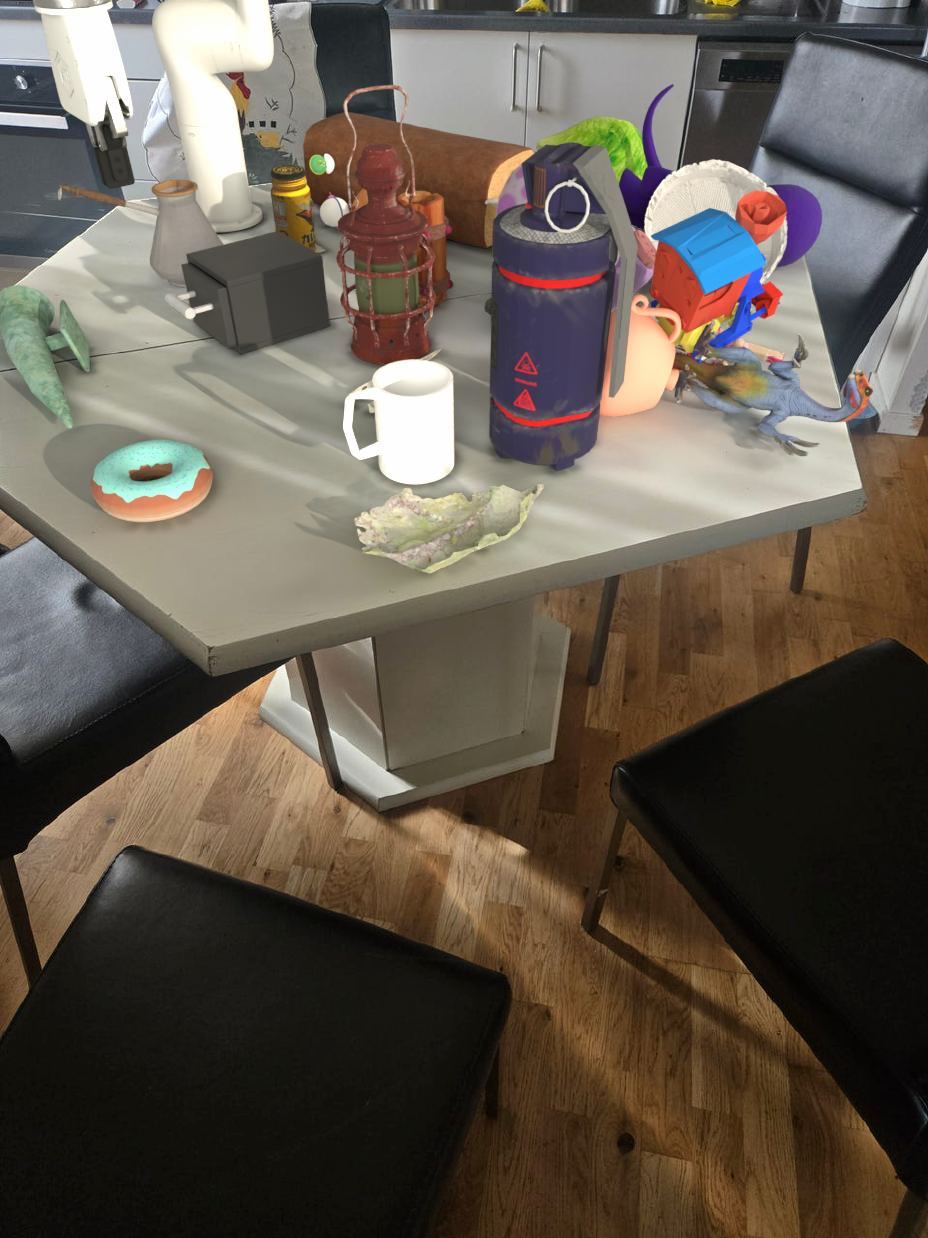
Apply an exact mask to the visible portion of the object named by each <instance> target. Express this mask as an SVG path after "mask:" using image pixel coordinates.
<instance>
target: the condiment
mask: <svg viewBox="0 0 928 1238" xmlns="http://www.w3.org/2000/svg"><path fill="white" fill-rule="evenodd" d="M305 173H306V172H305V167H304V166H301V165H298V164H282V165H277V166H274V167H272V168H271V170H270V178H271V181H270V183H271V185H272V187H271V189H270V192H269V193H270V199H271V206H272V213H273V221H274V228H275V232H276V231H279V232H281V233H282V234H284V235H286V236H288V237H290V238H291V239H293V240H295V241H297V242H298V243H300V244H302V245H304V246H306V247H307V248H309V249H311V250H313V251H315V252H316V253H318V254H320V253H321V254H322V253H323V252H326V251H327V250H326V249H325V248H323V247H322V246H319V244H316V234H315V231H316V230H315V225H314V224H315V223H314V216H313V215H314V214H313V207H312V200H311V194H310V188H309V187H308V185H307V180H306V174H305Z"/></svg>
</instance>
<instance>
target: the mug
mask: <svg viewBox="0 0 928 1238" xmlns="http://www.w3.org/2000/svg"><path fill="white" fill-rule="evenodd" d="M407 195H408V196H409V197H410V195H411V196H412V195H413V193H412V194H409V193H407ZM356 197H357V198H358V203H359V204H358V206H357V208H356V209H354V210H357V209H359V208H360V207H362V206H364V205H367V203H368V201H369V200H368V196H367V191H366V190H365V189H363V188H362V190H361V191H360V192H359V193H358V195H357V196H356ZM395 200H396V202H397V203H398V204H400V205H403V206H406V207H407V208H410V205H409V199H407V197H406V195H405V193H403V194H401V195H399V196H398V197H397V198H395ZM356 203H357V202H356V200H354V202H353V204H352V206H353V207H354V206H355V205H356ZM411 204H412V206H413V209H414V210H416V211H419V212H421V213H423V214H425V216H426V217H427V218H428V219H429V224H428V229H426V230H425V231H424V232H423V233H424V234H426V236H427V237H428V239H429V247H430V248H432V251H433V252H434V255H435V258H434V263H433V264H432V288H433V291H434V292H435V295H436V299H435V304H434V306H437V305H440V304H441V303H442V302H444V301H445V300H446V298H447V296H448V291H449V290H451V289H452V288H453V287H454V281H453V280H452V279H451V273H450V271H449V270H448V269H447V268H448V267H447V266H448V265H447V263H448V262H447V239H446V236H447V235H448V234H450V233H451V232H452V228H451V226H450V225H449V220H448V218H447V217H446V216H445V214H444V199H443V197H442V196H441V195H439V194H438V193H435V194H431V193H429V192H426V191H415V196H414V198H413V199H412V202H411ZM410 209H411V208H410ZM350 212H352V209H351V210H350ZM422 237H423V235H422ZM422 242H423V243H424V242H425V238H424V237H423V238H422ZM416 252H417V264H418V267H419V266H421V265H423V264H425V263H426V255H425V250H423V249H422V248H420V247H419V248H418V249H417V250H416ZM418 280H419V282H422V283H424V284H426V269H425V270H422V271H420V272H418ZM425 304H426V290H425V289H423V288H422V287H420V286H419V299H418V308H421V307H423V306H424V305H425ZM434 306H433V307H434Z"/></svg>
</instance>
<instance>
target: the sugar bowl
mask: <svg viewBox="0 0 928 1238" xmlns="http://www.w3.org/2000/svg"><path fill="white" fill-rule="evenodd" d="M638 302H642V303H643V304H642V306H638V305H636V304H637V303H638ZM649 303H650V302H649V299H648V297H647V296H645V295H644V294H642V293H641V294H634V295H633V297H632V307H631V317H630V326H629V336H628V346H627V356H626V366H625V376H624V383H623V384H622V386H621V388H620V390H619V391H618V393H617V394H616V395H615V397H614V398H611V397H609V386H610V375H611V364H612V353H613V342H614V331H615V320H616V309H614V310H612V311H611V319H610V328H609V337H608V346H607V355H606V364H605V372H604V381H603V390H602V399H601V401H600V414H599V416H601V417H602V416H603V417H624V416H629V415H633V414H637V413H641V412H644V411H648V410H651V409H652V408H654V407H656V406H657V404H658V403H659V401H660V399H661V398H662V395H663V393H664V391H665V389H667V390H668V391H670V392H672V391H673V390H675V385H676V383H677V380H678V377H679V373H680V371H679V370H678V369H672V366H673V363H674V358H675V352H676V348H675V346H674V344H673V342H674V341H675V340H676V339H677V337H678V336H679V334H680V331H681V320H680V317H679V315H678V314H677V313H676V312H675V311H673V310H670V309H666V308H651V307H649ZM650 316H659V317H666V318H669V319H672V320H673V321H674V323H675V327H674V330H673V332H672V333H671V335H670V336H668V335H667V334H666V333H665V331H664V330H663V329H662V328H661V327H660V325H659V324H658V323H657V322H656V321H655V320H654V319H653V318H651V317H650Z"/></svg>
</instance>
